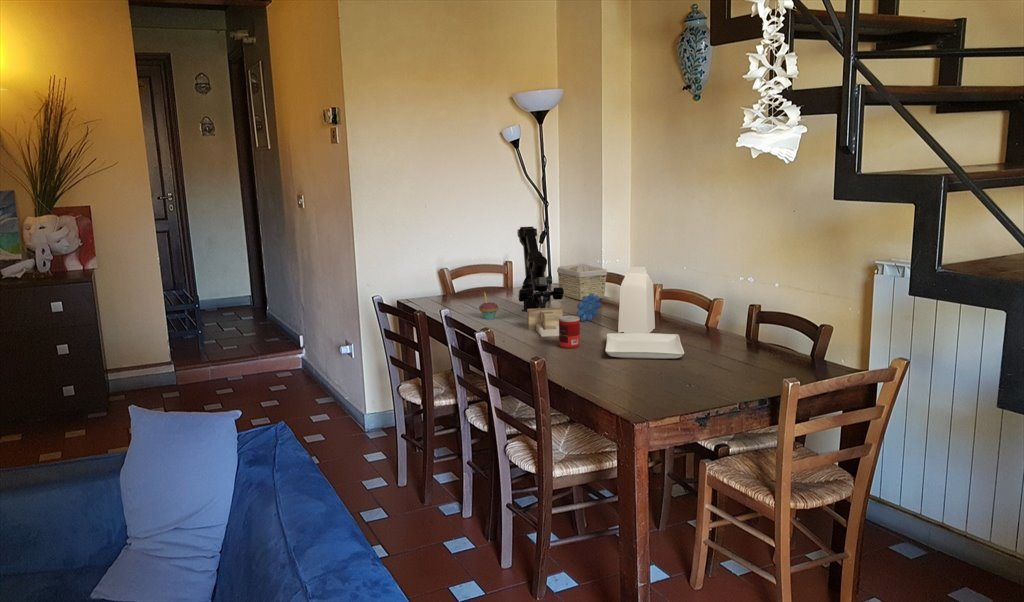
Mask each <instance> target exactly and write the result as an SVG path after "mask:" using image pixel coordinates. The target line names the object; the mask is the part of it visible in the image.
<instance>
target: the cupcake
mask: <svg viewBox="0 0 1024 602" xmlns="http://www.w3.org/2000/svg"><path fill="white" fill-rule="evenodd" d="M483 293H484V294H483V295H484V301H485V302H484V303H483V302H482V304H480V305H479V311H480V313H481V314H482V317H483V319H484V318H485V319H484V320H493V319H492V318H494V319H495V317H496V314H497V312H498V310H499V305H498V304H496V303H495V302H491V301H490V302H489V301H487V294H486V292H485V291H483Z"/></svg>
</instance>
